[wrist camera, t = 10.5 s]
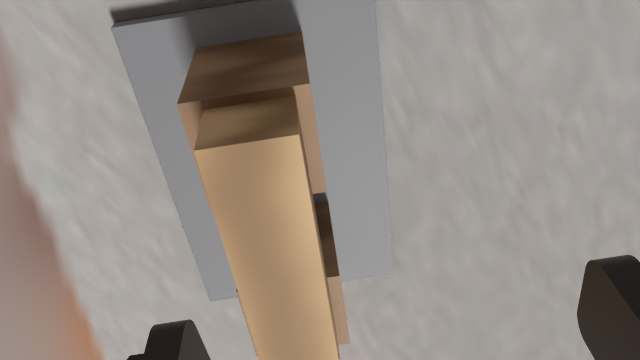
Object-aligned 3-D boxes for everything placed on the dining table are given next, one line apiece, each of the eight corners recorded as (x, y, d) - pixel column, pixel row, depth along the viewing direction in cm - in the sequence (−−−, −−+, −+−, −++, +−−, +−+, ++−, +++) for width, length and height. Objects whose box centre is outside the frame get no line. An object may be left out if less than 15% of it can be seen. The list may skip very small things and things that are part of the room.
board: (371, -18, 24) (374, -14, 23) (392, 264, 34) (394, 273, 34) (115, 22, 24) (110, 27, 24) (211, 292, 34) (210, 301, 34)
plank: (295, 95, 20) (298, 134, 17) (337, 337, 27) (343, 387, 25) (203, 109, 20) (193, 150, 17) (271, 346, 28) (271, 398, 25)
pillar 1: (301, 31, 24) (309, 83, 19) (316, 125, 27) (326, 192, 22) (196, 47, 24) (176, 104, 19) (221, 140, 27) (210, 209, 22)
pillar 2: (328, 201, 30) (339, 275, 25) (337, 264, 33) (349, 342, 28) (242, 214, 30) (236, 291, 25) (259, 276, 33) (257, 356, 28)
